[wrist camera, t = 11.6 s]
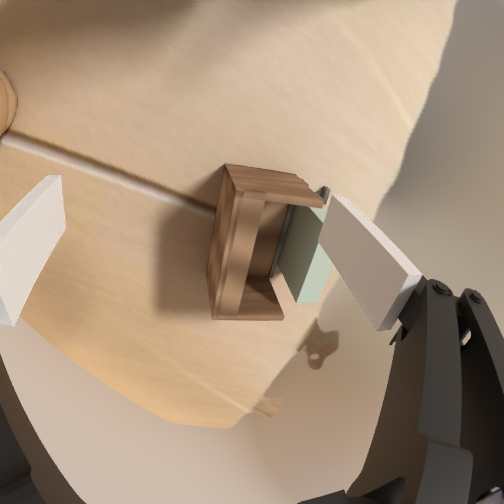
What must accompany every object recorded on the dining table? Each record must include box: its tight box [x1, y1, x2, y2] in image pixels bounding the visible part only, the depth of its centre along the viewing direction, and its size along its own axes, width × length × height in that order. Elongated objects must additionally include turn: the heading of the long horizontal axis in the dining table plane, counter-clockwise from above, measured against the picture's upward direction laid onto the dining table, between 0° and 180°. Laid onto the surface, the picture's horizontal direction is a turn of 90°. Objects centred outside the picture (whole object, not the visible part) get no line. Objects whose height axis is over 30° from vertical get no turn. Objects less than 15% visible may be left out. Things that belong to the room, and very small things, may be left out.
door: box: [277, 204, 333, 303], centre depth 42 cm, size 12×3×10 cm, turn 168°
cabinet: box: [206, 164, 330, 321], centre depth 41 cm, size 18×16×10 cm
